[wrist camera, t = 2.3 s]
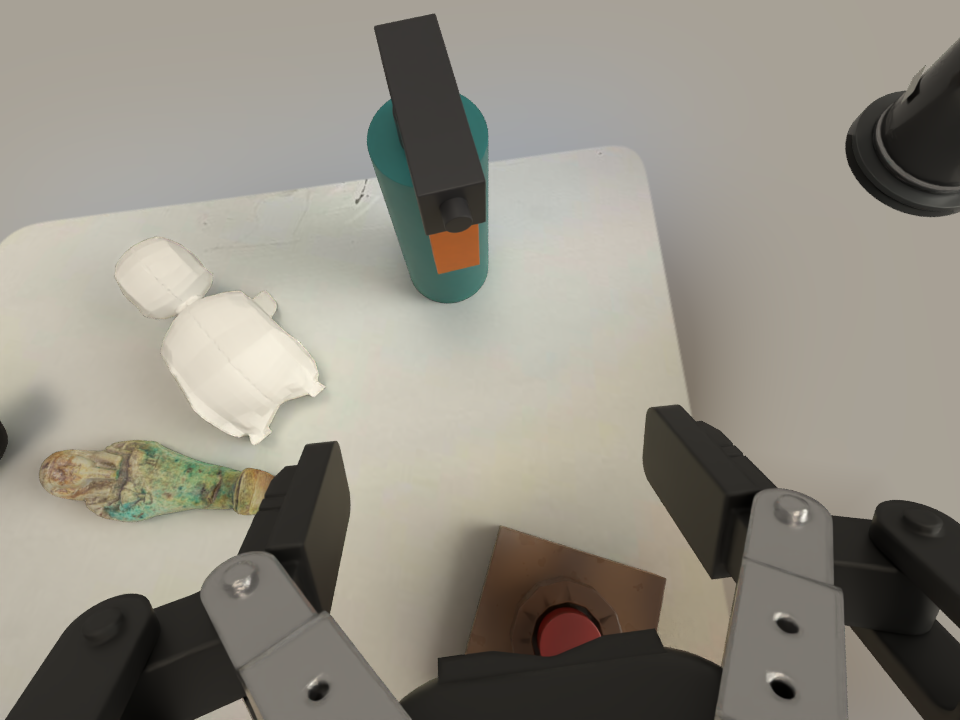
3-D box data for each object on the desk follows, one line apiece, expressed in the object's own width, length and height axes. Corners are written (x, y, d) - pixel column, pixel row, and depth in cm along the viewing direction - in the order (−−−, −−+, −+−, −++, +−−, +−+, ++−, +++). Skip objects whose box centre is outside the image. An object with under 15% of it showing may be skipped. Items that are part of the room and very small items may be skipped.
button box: (655, 574, 34) (677, 582, 30) (624, 739, 31) (643, 771, 28) (499, 525, 35) (501, 527, 31) (457, 681, 32) (453, 704, 29)
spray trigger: (433, 255, 28) (422, 204, 23) (474, 246, 28) (472, 192, 23) (438, 274, 28) (427, 226, 23) (480, 264, 28) (478, 214, 23)
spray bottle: (402, 241, 41) (328, 13, 22) (477, 224, 42) (468, -16, 23) (431, 367, 38) (376, 227, 19) (512, 346, 39) (536, 190, 20)
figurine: (258, 552, 35) (231, 557, 31) (59, 501, 36) (11, 500, 32) (284, 473, 36) (261, 469, 33) (92, 427, 37) (50, 418, 34)
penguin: (341, 374, 41) (211, 229, 39) (337, 378, 33) (172, 194, 31) (256, 444, 40) (116, 298, 38) (229, 467, 32) (48, 280, 29)
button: (603, 617, 30) (610, 624, 28) (589, 683, 29) (596, 694, 27) (545, 598, 30) (548, 604, 29) (529, 662, 29) (532, 672, 28)
